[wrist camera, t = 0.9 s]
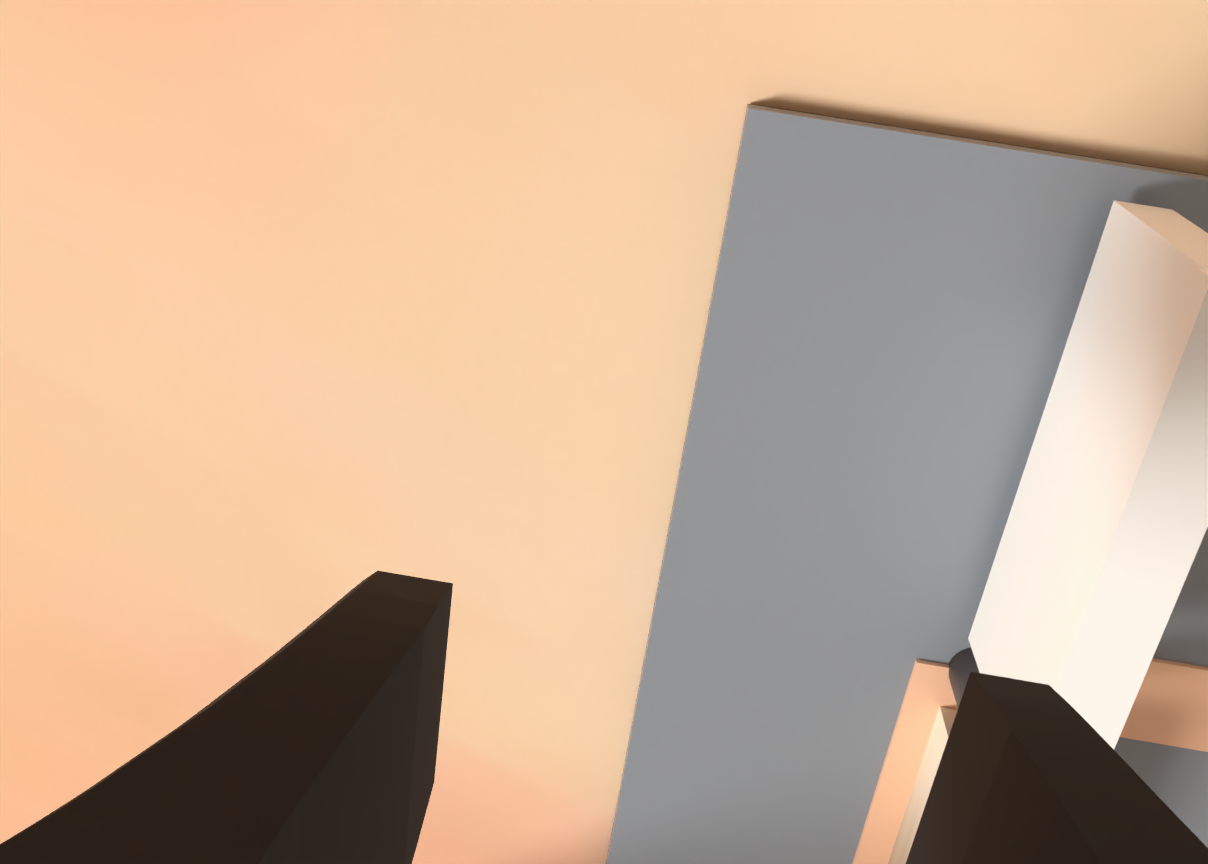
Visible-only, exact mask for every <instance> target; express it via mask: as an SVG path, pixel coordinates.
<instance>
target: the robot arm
mask: <svg viewBox="0 0 1208 864" xmlns="http://www.w3.org/2000/svg"><path fill="white" fill-rule="evenodd" d="M452 586H453V584H452V583H446V582H440V581H435V580H429V579H423V578H417V577H411V576H405V575H399V574H393V573H387V572H382V571H377V572H375V573H374V574H372V575H371V576H369V577H368V578H366V579H365V580H363V581H362V582H361V583H360V584H358V585H357V586H356V587H355V588H354V589H352V590H351V591H350V592H349V593H347V594H346V595H345V596H344V597H343V598H342V599H340V600H339V601H338V602H337V603H336V604H334V605H333V606H332V607H331V608H330V609H328V610H327V611H326V612H325V613H324V614H322V615H321V616H320V617H319V618H318V619H316V620H315V621H314V622H313V623H312V624H310V625H309V626H308V627H307V628H306V629H304V630H303V631H302V632H301V633H300V634H298V635H297V636H296V637H295V638H293V639H292V640H291V641H290V642H288V643H287V644H286V645H285V646H283V647H282V648H281V649H280V650H279V651H277V652H276V653H275V654H274V655H272V656H271V657H270V658H269V659H267V660H266V661H265V662H264V663H262V664H261V665H260V666H258V667H257V668H256V669H254V670H253V671H252V672H251V673H249V674H248V675H247V676H245V677H244V678H243V679H241V680H240V681H239V682H238V683H236V684H235V685H234V686H232V687H231V688H230V689H228V690H227V691H226V692H224V693H223V694H222V695H221V696H219V697H218V698H217V699H215V700H214V701H213V702H211V703H210V704H209V705H207V706H206V707H205V708H204V709H202V710H201V711H200V712H198V713H197V714H196V715H194V716H193V717H192V718H190V719H189V720H187V721H186V722H185V723H183V724H182V725H181V726H179V727H178V728H176V729H175V730H174V731H172V732H171V733H169V734H168V735H166V736H165V737H163V738H162V739H161V740H159V741H158V742H156V743H155V744H153V745H152V746H150V747H149V748H147V749H146V750H145V751H143V752H142V753H140V754H139V755H137V756H136V757H134V758H133V759H131V760H130V761H129V762H127V763H126V764H124V765H123V766H121V767H120V768H118V769H117V770H115V771H114V772H113V773H111V774H110V775H108V776H107V777H105V778H104V779H102V780H101V781H99V782H98V783H97V784H95V785H94V786H92V787H91V788H89V789H88V790H86V791H85V792H83V793H82V794H80V795H79V796H77V797H76V798H74V799H72V800H71V801H69V802H68V803H66V804H65V805H63V806H61V807H60V808H58V809H57V810H55V811H53V812H52V813H50V814H49V815H47V816H46V817H44V818H42V819H41V820H39V821H38V822H36V823H35V824H33V825H31V826H30V827H28V828H26V829H25V830H23V831H21V832H20V833H18V834H16V835H15V836H13V837H12V838H10V839H8V840H7V841H5V842H3V843H2V844H0V864H412V860H413V857H414V853H415V850H416V846H417V843H418V839H419V835H420V831H421V828H422V824H423V820H424V817H425V813H426V809H427V806H428V802H429V798H430V795H431V791H432V787H433V783H434V776H435V765H436V755H437V744H438V734H439V723H440V712H441V702H442V691H443V681H444V670H445V660H446V649H447V639H448V628H449V618H450V607H451V597H452ZM906 864H1208V848H1207V847H1206V846H1205V845H1204V844H1203V843H1202V841H1201V840H1200V839H1199V838H1198V837H1197V836H1196V835H1195V834H1194V833H1193V832H1192V831H1191V830H1190V829H1189V828H1188V827H1187V826H1186V825H1185V824H1184V823H1183V822H1182V821H1181V820H1180V819H1179V818H1178V817H1177V816H1176V814H1175V813H1174V812H1173V811H1172V810H1171V809H1170V808H1169V807H1168V806H1167V805H1166V804H1165V803H1164V802H1163V801H1162V800H1161V799H1160V798H1159V797H1158V796H1157V795H1156V794H1155V792H1154V791H1153V790H1152V789H1151V788H1150V787H1149V786H1148V785H1147V784H1146V783H1145V782H1144V781H1143V780H1142V779H1141V778H1140V777H1139V776H1138V775H1137V774H1136V772H1135V771H1134V770H1133V769H1132V768H1131V767H1130V766H1129V765H1128V764H1127V763H1126V762H1125V761H1124V760H1123V759H1122V758H1121V757H1120V756H1119V755H1118V754H1117V753H1116V751H1115V750H1114V749H1113V748H1112V747H1111V746H1110V745H1109V744H1108V743H1107V742H1106V741H1105V740H1104V739H1103V738H1102V737H1101V736H1100V735H1099V734H1098V733H1097V732H1096V731H1095V730H1094V729H1093V728H1092V726H1091V725H1090V724H1089V723H1088V722H1087V721H1086V720H1085V719H1084V718H1083V717H1082V716H1081V715H1080V714H1079V713H1078V712H1077V711H1076V710H1075V709H1074V708H1073V707H1072V706H1071V705H1070V704H1069V703H1068V702H1067V701H1066V700H1065V699H1063V698H1062V697H1061V696H1060V695H1059V694H1058V693H1057V692H1056V691H1055V690H1054V689H1053V688H1052V687H1051V686H1049V685H1047V684H1041V683H1035V682H1029V681H1023V680H1018V679H1012V678H1006V677H1000V676H994V675H988V674H982V673H976V672H970V675H969V678H968V681H967V684H966V687H965V690H964V693H963V696H962V699H961V702H960V705H959V708H958V710H957V713H956V716H955V719H954V722H953V725H952V728H951V731H950V734H949V737H948V740H947V743H946V746H945V749H944V752H943V755H942V758H941V761H940V764H939V767H938V770H937V772H936V775H935V778H934V781H933V784H932V787H931V790H930V793H929V796H928V799H927V802H926V805H925V808H924V811H923V814H922V817H921V820H920V823H919V826H918V829H917V832H916V834H915V837H914V840H913V843H912V846H911V849H910V852H909V855H908V858H907V861H906Z"/></svg>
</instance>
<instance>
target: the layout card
mask: <svg viewBox="0 0 1208 864" xmlns="http://www.w3.org/2000/svg"><path fill="white" fill-rule="evenodd" d="M1114 200H1115V201H1122V202H1128V203H1134V204H1141V205H1147V206H1153V207H1160V208H1166V209H1172V210H1174V211H1175V212H1177V213H1178V214H1180V215H1181V216H1183V217H1184V218H1186V219H1187V220H1189V221H1190V222H1192V223H1193V224H1195V225H1196V226H1198V227H1199V228H1201V229H1202V230H1204V231H1205V232H1207V233H1208V176H1205V175H1199V174H1193V173H1186V172H1180V171H1173V170H1167V169H1161V168H1154V167H1148V166H1142V165H1135V164H1129V163H1122V162H1116V161H1110V160H1103V159H1097V158H1090V157H1084V156H1078V155H1071V154H1065V153H1059V152H1052V151H1046V150H1039V149H1033V148H1027V147H1020V146H1014V145H1008V144H1001V143H995V142H988V141H982V140H976V139H969V138H963V137H956V136H950V135H944V134H937V133H931V132H925V131H918V130H912V129H905V128H899V127H893V126H886V125H880V124H874V123H867V122H861V121H854V120H848V119H842V118H835V117H829V116H822V115H816V114H810V113H803V112H797V111H791V110H784V109H778V108H771V107H765V106H759V105H752V104H748V105H747V110H746V116H745V121H744V127H743V132H742V137H741V143H740V148H739V153H738V159H737V164H736V169H735V175H734V180H733V186H732V191H731V196H730V202H729V207H728V212H727V218H726V223H725V228H724V234H723V239H722V245H721V250H720V255H719V261H718V266H717V271H716V277H715V282H714V287H713V293H712V298H711V304H710V309H709V314H708V320H707V325H706V330H705V336H704V341H703V347H702V352H701V357H700V363H699V368H698V373H697V379H696V384H695V389H694V395H693V400H692V406H691V411H690V416H689V422H688V427H687V432H686V438H685V443H684V448H683V454H682V459H681V465H680V470H679V475H678V481H677V486H676V491H675V497H674V502H673V507H672V513H671V518H670V524H669V529H668V534H667V540H666V545H665V550H664V556H663V561H662V566H661V572H660V577H659V583H658V588H657V593H656V599H655V604H654V609H653V615H652V620H651V626H650V631H649V636H648V642H647V647H646V652H645V658H644V663H643V668H642V674H641V679H640V685H639V690H638V695H637V701H636V706H635V711H634V717H633V722H632V727H631V733H630V738H629V744H628V749H627V754H626V760H625V765H624V770H623V776H622V781H621V786H620V792H619V797H618V803H617V808H616V813H615V819H614V824H613V829H612V835H611V840H610V845H609V851H608V856H607V862H606V864H888V862H889V859H890V856H891V853H892V850H893V847H894V844H895V841H896V838H897V835H898V832H899V829H900V826H901V823H902V820H903V817H904V814H905V811H906V808H907V805H908V802H909V799H910V796H911V792H912V789H913V786H914V783H915V780H916V777H917V774H918V771H919V768H920V765H921V762H922V759H923V756H924V753H925V750H926V747H927V744H928V741H929V738H930V735H931V732H932V729H933V726H934V723H935V720H936V717H937V714H938V711H939V708H940V706H941V707H947V708H953V709H958V707H957V704H956V700H955V697H954V693H953V690H952V687H951V683H950V680H949V675H948V673H949V665H948V664H949V662H950V660H951V659H952V657H953V656H954V655H955V654H957V653H958V652H960V651H961V650H964V649H967V648H971V646H970V643H969V640H968V637H969V634H970V631H971V628H972V625H973V622H974V619H975V616H976V613H977V610H978V607H979V604H980V601H981V598H982V595H983V592H984V589H985V586H986V583H987V580H988V577H989V574H990V571H991V568H992V565H993V562H994V559H995V556H996V553H997V550H998V547H999V544H1000V541H1001V538H1002V535H1003V532H1004V529H1005V526H1006V523H1007V520H1008V517H1009V514H1010V511H1011V508H1012V505H1013V502H1014V499H1015V496H1016V493H1017V490H1018V487H1019V484H1020V481H1021V478H1022V475H1023V472H1024V469H1025V466H1026V463H1027V460H1028V457H1029V454H1030V451H1031V448H1032V445H1033V442H1034V439H1035V436H1036V433H1037V430H1038V427H1039V424H1040V421H1041V418H1042V415H1043V412H1044V409H1045V406H1046V403H1047V400H1048V397H1049V394H1050V391H1051V388H1052V385H1053V382H1054V379H1055V376H1056V373H1057V370H1058V367H1059V364H1060V361H1061V357H1062V354H1063V351H1064V348H1065V345H1066V342H1067V339H1068V336H1069V333H1070V330H1071V327H1072V324H1073V321H1074V318H1075V315H1076V312H1077V309H1078V306H1079V303H1080V300H1081V297H1082V294H1083V291H1084V288H1085V285H1086V282H1087V279H1088V276H1089V273H1090V270H1091V267H1092V264H1093V261H1094V258H1095V255H1096V252H1097V249H1098V246H1099V243H1100V240H1101V237H1102V234H1103V231H1104V228H1105V225H1106V222H1107V219H1108V216H1109V213H1110V210H1111V207H1112V204H1113V201H1114ZM1114 750H1115V751H1116V753H1117V754H1118V755H1119V756H1120V757H1121V758H1122V759H1123V760H1124V761H1125V762H1126V763H1127V764H1128V765H1129V766H1130V767H1131V768H1132V769H1133V770H1134V771H1135V772H1136V774H1137V775H1138V776H1139V777H1140V778H1141V779H1142V780H1143V781H1144V782H1145V783H1146V784H1147V785H1148V786H1149V787H1150V788H1151V789H1152V790H1153V791H1154V792H1155V794H1156V795H1157V796H1158V797H1159V798H1160V799H1161V800H1162V801H1163V802H1164V803H1165V804H1166V805H1167V806H1168V807H1169V808H1170V809H1171V810H1172V811H1173V812H1174V813H1175V814H1176V816H1177V817H1178V818H1179V819H1180V820H1181V821H1182V822H1183V823H1184V824H1185V825H1186V826H1187V827H1188V828H1189V829H1190V830H1191V831H1192V832H1193V833H1194V834H1195V835H1196V836H1197V837H1198V838H1199V839H1200V840H1201V841H1202V843H1203V844H1204V845H1205V846H1206V847H1207V848H1208V527H1207V530H1206V532H1205V534H1204V537H1203V539H1202V542H1201V544H1200V546H1199V549H1198V551H1197V553H1196V556H1195V558H1194V561H1193V563H1192V565H1191V568H1190V570H1189V573H1188V575H1187V577H1186V580H1185V582H1184V584H1183V587H1182V589H1181V592H1180V594H1179V596H1178V599H1177V601H1176V603H1175V606H1174V608H1173V611H1172V613H1171V615H1170V618H1169V620H1168V622H1167V625H1166V627H1165V630H1164V632H1163V634H1162V637H1161V639H1160V642H1159V644H1158V646H1157V649H1156V651H1155V653H1154V656H1153V658H1152V661H1151V663H1150V665H1149V668H1148V670H1147V672H1146V675H1145V677H1144V680H1143V682H1142V684H1141V687H1140V689H1139V691H1138V694H1137V696H1136V699H1135V701H1134V703H1133V706H1132V708H1131V711H1130V713H1129V715H1128V718H1127V720H1126V722H1125V725H1124V727H1123V730H1122V732H1121V734H1120V737H1119V739H1118V741H1117V744H1116V746H1115V749H1114Z"/></svg>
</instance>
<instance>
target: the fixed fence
mask: <svg viewBox="0 0 1208 864" xmlns="http://www.w3.org/2000/svg"><path fill="white" fill-rule="evenodd" d="M948 665H949V673H948V675H949V680H950V683H951V687H952V690H953V693H954V697H955V700H956V704H957V707H958V708H959V705H960V702H961V699H962V696H963V693H964V690H965V687H966V684H967V681H968V678H969V675H970V672H976V673H980V672H979V669H978V666H977V663H976V660H975V657H974V654H973V651H972V649H971V648H967V649H964V650H961V651H960V652H958V653H957V654H955V655H954V656H953V657H952V659H951V660H950V662H949V664H948ZM957 710H958V709H953V708H947V707H941V706H940V708H939V711H938V714H937V717H936V720H935V723H934V726H933V729H932V732H931V735H930V738H929V741H928V744H927V747H926V750H925V753H924V756H923V759H922V762H921V765H920V768H919V771H918V774H917V777H916V780H915V783H914V786H913V789H912V792H911V796H910V799H909V802H908V805H907V808H906V811H905V814H904V817H903V820H902V823H901V826H900V829H899V832H898V835H897V838H896V841H895V844H894V847H893V850H892V853H891V856H890V859H889V862H888V864H906V861H907V858H908V855H909V852H910V849H911V846H912V843H913V840H914V837H915V834H916V832H917V829H918V826H919V823H920V820H921V817H922V814H923V811H924V808H925V805H926V802H927V799H928V796H929V793H930V790H931V787H932V784H933V781H934V778H935V775H936V772H937V770H938V767H939V764H940V761H941V758H942V755H943V752H944V749H945V746H946V743H947V740H948V737H949V734H950V731H951V728H952V725H953V722H954V719H955V716H956V713H957Z"/></svg>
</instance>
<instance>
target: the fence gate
mask: <svg viewBox="0 0 1208 864" xmlns="http://www.w3.org/2000/svg"><path fill="white" fill-rule="evenodd" d="M1207 527H1208V233H1207V232H1205V231H1204V230H1202V229H1201V228H1199V227H1198V226H1196V225H1195V224H1193V223H1192V222H1190V221H1189V220H1187V219H1186V218H1184V217H1183V216H1181V215H1180V214H1178V213H1177V212H1175V211H1174V210H1172V209H1166V208H1160V207H1153V206H1147V205H1141V204H1134V203H1128V202H1122V201H1115V200H1114V201H1113V204H1112V207H1111V210H1110V213H1109V216H1108V219H1107V222H1106V225H1105V228H1104V231H1103V234H1102V237H1101V240H1100V243H1099V246H1098V249H1097V252H1096V255H1095V258H1094V261H1093V264H1092V267H1091V270H1090V273H1089V276H1088V279H1087V282H1086V285H1085V288H1084V291H1083V294H1082V297H1081V300H1080V303H1079V306H1078V309H1077V312H1076V315H1075V318H1074V321H1073V324H1072V327H1071V330H1070V333H1069V336H1068V339H1067V342H1066V345H1065V348H1064V351H1063V354H1062V357H1061V361H1060V364H1059V367H1058V370H1057V373H1056V376H1055V379H1054V382H1053V385H1052V388H1051V391H1050V394H1049V397H1048V400H1047V403H1046V406H1045V409H1044V412H1043V415H1042V418H1041V421H1040V424H1039V427H1038V430H1037V433H1036V436H1035V439H1034V442H1033V445H1032V448H1031V451H1030V454H1029V457H1028V460H1027V463H1026V466H1025V469H1024V472H1023V475H1022V478H1021V481H1020V484H1019V487H1018V490H1017V493H1016V496H1015V499H1014V502H1013V505H1012V508H1011V511H1010V514H1009V517H1008V520H1007V523H1006V526H1005V529H1004V532H1003V535H1002V538H1001V541H1000V544H999V547H998V550H997V553H996V556H995V559H994V562H993V565H992V568H991V571H990V574H989V577H988V580H987V583H986V586H985V589H984V592H983V595H982V598H981V601H980V604H979V607H978V610H977V613H976V616H975V619H974V622H973V625H972V628H971V631H970V634H969V637H968V640H969V643H970V646H971V649H972V651H973V654H974V657H975V660H976V663H977V666H978V669H979V672H980V673H982V674H988V675H994V676H1000V677H1006V678H1012V679H1018V680H1023V681H1029V682H1035V683H1041V684H1047V685H1049V686H1051V687H1052V688H1053V689H1054V690H1055V691H1056V692H1057V693H1058V694H1059V695H1060V696H1061V697H1062V698H1063V699H1065V700H1066V701H1067V702H1068V703H1069V704H1070V705H1071V706H1072V707H1073V708H1074V709H1075V710H1076V711H1077V712H1078V713H1079V714H1080V715H1081V716H1082V717H1083V718H1084V719H1085V720H1086V721H1087V722H1088V723H1089V724H1090V725H1091V726H1092V728H1093V729H1094V730H1095V731H1096V732H1097V733H1098V734H1099V735H1100V736H1101V737H1102V738H1103V739H1104V740H1105V741H1106V742H1107V743H1108V744H1109V745H1110V746H1111V747H1112V748H1113V749H1115V746H1116V744H1117V741H1118V739H1119V737H1120V734H1121V732H1122V730H1123V727H1124V725H1125V722H1126V720H1127V718H1128V715H1129V713H1130V711H1131V708H1132V706H1133V703H1134V701H1135V699H1136V696H1137V694H1138V691H1139V689H1140V687H1141V684H1142V682H1143V680H1144V677H1145V675H1146V672H1147V670H1148V668H1149V665H1150V663H1151V661H1152V658H1153V656H1154V653H1155V651H1156V649H1157V646H1158V644H1159V642H1160V639H1161V637H1162V634H1163V632H1164V630H1165V627H1166V625H1167V622H1168V620H1169V618H1170V615H1171V613H1172V611H1173V608H1174V606H1175V603H1176V601H1177V599H1178V596H1179V594H1180V592H1181V589H1182V587H1183V584H1184V582H1185V580H1186V577H1187V575H1188V573H1189V570H1190V568H1191V565H1192V563H1193V561H1194V558H1195V556H1196V553H1197V551H1198V549H1199V546H1200V544H1201V542H1202V539H1203V537H1204V534H1205V532H1206V530H1207Z"/></svg>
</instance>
